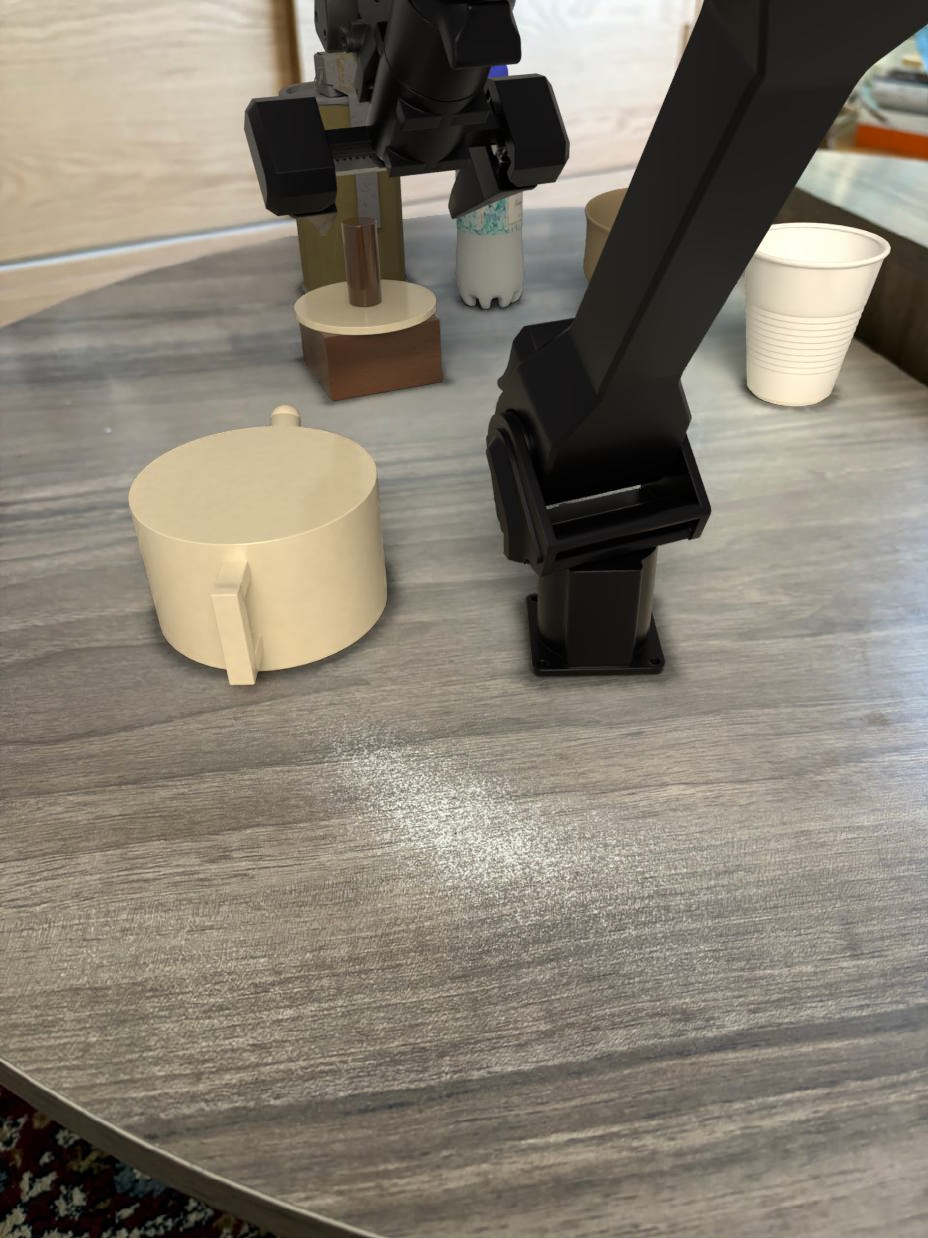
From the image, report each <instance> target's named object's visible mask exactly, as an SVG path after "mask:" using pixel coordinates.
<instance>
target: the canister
mask: <svg viewBox="0 0 928 1238" xmlns="http://www.w3.org/2000/svg"><path fill="white" fill-rule="evenodd" d="M313 65H314V74H315V76H314V78H313V81H306V82H305V81H304V82H299V83H293V84H291V85H287V86H283V87H282V88H280V89H279V91H278V96H285V95H296V94H308V93H310V94H312V95H313V96H315V97H316V101H317V104H318V108H319V111H320V115H321V118H322V122H323V125H324V129H325V130H329V129H339V128H349V127H360V126H366V118H367V113H368V109H369V108H368V104H367V102H365V103H359V102H358V99H357V95H356V92H355V88H354V85H353V84H354V78H355V73H356V68H357V63H356V61H355V59H354V57H353V55H352V53H345V52H340V53H326V52H325V50H324V51H316V53H315V52H314V54H313ZM336 180H337V190H338V191H337V196H336V201H335V204H336V207H337V215H336V218H335V220H334V223H333V226H332V229H331V231H330V232H329V233H328V234H327V235H326V236H320V234H319V232H318V230H317V228H316V226H315V225H314V224H313V223H311V222H310V221H308V220H307V219H305V218H302V219H295V224H296V229H297V238H298V244H299V245H298V246H299V248H298V249H299V255H300V263H301V270H302V271H301V272H302V279H303V281H302V284H301V290H302V292H303V293H304V294H306V293H308V292H310V291H312V290H315V289H318V288H320V287H324V286H327V285H331V284H336V283H341V282H347V279H346V268H345V257H344V247H343V236H342V225H341V223H342V221H343V220H345V219H348V218H353V217H369V218H373V219H375V220H376V222H377V235H378V249H379V262H380V276H381V280H396V281H403V282H408V283H409V278H408V276H407V275H406V273H407V272H406V256H405V241H404V240H405V237H404V220H403V219H404V218H403V200H402V198H403V197H402V181H401V180H402V179H401V177H393V178H389V177H388V173H387V171H378V172H369V173H360V174H352V175H343V176H336Z"/></svg>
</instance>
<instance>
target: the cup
mask: <svg viewBox="0 0 928 1238" xmlns="http://www.w3.org/2000/svg"><path fill="white" fill-rule="evenodd" d="M891 249H892V248H891V246H890V242H889V241H887V240H886V239H885V238H883V237H881V236H880V235H878V234H876V233H874V232H870V231H867V230H864V229H861V228H856V227H852V226H846V225H842V224H841V225H840V224H834V223H833V224H832V223H821V222H784V223H773V224H772V226H771V227H770V229H769V230H768V232H767V234H766V235H765V237H764V239H763V240H762V242H761V244H760V245H759V247H758V249H757V250H756V252H755V254H754V255H753V257H752V259H751V260H750V262H749V264H748V265H747V267H746V269H745V270H744V296H745V299H744V300H745V302H744V303H745V305H744V306H745V307H744V308H745V341H746V342H745V346H746V351H745V352H746V386H747V388H748V389H749V390H750V391H751V393H752V394H753V395H754V396H755V397H756V398H758V399H761V401H764V402H767V403H770V404H774V405H778V406H784V407H805V406H806V407H807V406H812V405H816V404H817V403H820V402H821V401H824V400H825V399H826V398H828V397H829V396H831V394H832V392H833V390H834V387H835V384H836V381H837V379H838V377H839V374H840V371H841V368H842V365H843V363H844V360H845V358H846V356H847V353H848V351H849V347H850V345H851V343H852V339H853V338H854V335H855V332H856V330H857V326H858V325H859V321H860V319H861V318H862V313H863V312H864V310H865V306H866V305H867V303H868V300H869V298H870V295H871V293H872V290H873V288H874V285H875V282H876V281H877V278H878V275H879V272H880V270H881V267H882V265H883V262H884V260H885V258H887V257H888V256H889V255H890V253H891Z"/></svg>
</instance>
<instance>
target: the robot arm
mask: <svg viewBox="0 0 928 1238" xmlns="http://www.w3.org/2000/svg"><path fill="white" fill-rule="evenodd" d="M516 2H517V0H313V22H314V29H315V33H316V35H317V37H318V40H319V41H320V43H321V44H320V45H321V46H322V48H323V50H324V51H325V52H326V53H340V52H345V53H352V55H353V57H354V59H355V61H356V63H357V68H356V73H355V78H354V84H353V85H354V88H355V92H356V95H357V99H358V102H359V103H365V102H367V104H368V108H369V109H368V113H367V118H366V126H360V127H349V128H339V129H329V130H325V129H324V125H323V122H322V118H321V115H320V111H319V108H318V104H317V101H316V97H315V96H313V95H312V94H310V93H308V94H296V95H285V96H279V95H275V96H274V95H273V96H262V97H253V98H251V100H250V101H249V103H248V104H247V107H246V108H245V110H244V117H243V118H244V119H243V131H244V135H245V137H246V138H245V139H246V142H247V146H248V149H249V153H250V157H251V161H252V163H253V167H254V171H255V175H256V178H257V182H258V185H259V189H260V193H261V196H262V200H263V203H264V207H265V210H267V211H269V212H270V213H272V214H273V215H274V216H276V217H283V216H289V217H290V218H291V219H295V220H296V219H302V218H305V219H307V220H308V221H310V222H311V223H313V224H314V225H315V226H316V228H317V230H318V232H319V234H320V236H326V235H327V234H328V233H329V232H330V231H331V229H332V226H333V223H334V220H335V218H336V215H337V207H336V204H335V201H336V196H337V191H338V190H337V180H336V176H343V175H352V174H360V173H369V172H378V171H387V173H388V177H389V178H393V177H400V178H401V177H410V176H418V175H428V174H435V173H443V172H452V171H454V172H455V170H459V172H458V175H457V177H456V180H455V179H454V181H453V185H452V188H451V190H450V194H449V198H448V203H447V208H448V211H449V215H450V218H451V220H457V219H458V218H460V217H462V216H465V215H467V214H469V213H471V212H474V211H476V210H478V209H480V208H483V207H485V206H488V205H490V204H492V203H495V202H497V201H500V200H502V199H505V198H507V197H510V196H513V195H515V194H518V193H520V192H523V193H524V192H527V191H533V190H534V189H536V188H537V187H538V186H539V185H545V184H552V183H556V182H557V180H558V178H559V177H560V175H561V173H562V172H563V170H564V169H565V166H566V164H567V163H568V161H569V159H570V152H571V149H570V148H571V141H570V139H569V136H568V135H569V134H568V132H567V128H566V126H565V122H564V119H563V116H562V113H561V110H560V106H559V104H558V101H557V97H556V94H555V91H554V88H553V85H552V83H551V81H550V80H549V79H548V78H547V76H545V75H543V74H540V73H525V74H513V75H508V76H500V77H489V78H488V75H489V73H490V70H491V67H492V66H501V65H507V66H511V65H519V63H520V62H521V61H522V55H523V54H522V53H523V51H522V38H521V35H520V31H519V28H518V25H517V22H516V19H515V16H514V12H513V11H514V9H515V6H516ZM926 26H928V0H703V1H702V5H701V7H700V10H699V13H698V17H697V19H696V21H695V23H694V26H693V28H692V31H691V32H690V35H689V38H688V41H687V42H686V45H685V48H684V50H683V53H682V55H681V58H680V60H679V62H678V65H677V68H676V70H675V72H674V75H673V77H672V80H671V82H670V84H669V87H668V88H667V91H666V94H665V97H664V99H663V100H662V101H663V102H662V104H661V106H660V108H659V112H658V114H657V116H656V118H655V121H654V123H653V126H652V128H651V130H650V132H649V136H648V138H647V141H646V143H645V146H644V148H643V150H642V153H641V155H640V158H639V160H638V163H637V165H636V167H635V170H634V171H633V175H632V176H631V180H630V182H629V184H628V187H627V188H628V189H627V192H626V194H625V196H624V199H623V201H622V204H621V206H620V209H619V211H618V213H617V216H616V218H615V221H614V223H613V226H612V228H611V231H610V233H609V235H608V238H607V240H606V243H605V245H604V248H603V250H602V253H601V255H600V257H599V260H598V262H597V265H596V267H595V270H594V272H593V274H592V277H591V279H590V282H589V283H587V284H588V285H587V287H586V289H585V291H584V294H583V296H582V299H581V302H580V304H579V306H578V309H577V311H576V314H575V316H574V317H569V318H563V319H557V320H551V321H546V322H539V323H533V324H526V325H524V326H522V327H521V329H520V330H519V332H517V334H516V335H515V337H514V338H513V340H512V343H511V347H510V352H509V357H508V361H507V365H506V368H505V370H504V372H503V374H502V375H501V376H500V377H498V378H497V381H496V385H497V388H499V389H500V391H501V393H500V395H499V397H498V399H497V402H496V405H495V409H494V414H492V416H491V417H490V419H489V422H488V427H487V435H486V437H485V444H486V449H485V455H486V460H487V463H488V468H489V472H490V479H491V485H492V494H493V500H494V507H495V514H496V518H497V521H498V523H499V528H500V531H501V533H502V535H503V538H502V539H503V543H502V544H503V547H502V548H503V551H502V552H503V556H505V558H506V559H507V560H508V561H510V562H515V563H520V564H523V565H529V567H530V568H531V569H532V570H533V572H534V573H535V574H536V575H537V593H531V594H528V595H527V596H526V599H525V607H526V619H527V629H528V631H527V632H528V641H529V651H530V663H531V671H532V673H533V674H534V676H538V677H581V676H582V677H585V676H586V677H587V676H590V677H591V676H633V675H635V676H636V675H660V674H662V673H663V672H664V671H665V667H666V659H665V655H664V652H663V648H662V643H661V640H660V637H659V632H658V628H657V624H656V621H655V617H654V613H653V599H654V592H655V591H654V590H655V581H656V571H657V562H658V554H659V547H660V546H664V545H669V544H672V543H676V542H681V541H685V540H688V541H693V540H696V539H699V538H701V537H702V534H703V532H704V531H705V530H704V529H705V528H706V526H707V524H708V521H709V519H710V517H711V514H712V506H711V502H710V499H709V497H708V494H707V493H708V492H707V490H706V488H705V487H706V486H705V484H704V482H703V478H702V475H701V472H700V469H699V466H698V463H697V460H696V457H695V453H694V451H693V448H692V445H691V442H690V439H689V436H688V433H687V432H688V429H689V426H690V424H691V422H692V419H693V416H692V412H691V409H690V406H689V403H688V399H687V397H686V394H685V390H684V387H683V383H682V376H683V374H684V372H685V370H686V369H687V367H688V365H689V363H690V362H691V361H692V358H693V357H694V356H695V354H696V352H697V350H698V348H699V347H700V345H701V344H702V342H703V340H704V338H705V337H706V335H707V333H708V332H709V330H710V329H711V327H712V326H713V324H714V322H715V320H716V319H717V317H718V315H719V314H720V312H721V310H722V309H723V307H724V305H725V304H726V302H727V300H728V299H729V297H730V296H731V294H732V292H733V290H734V289H735V287H736V285H737V284H738V282H739V280H740V279H741V277H742V275H743V274H744V273H745V269H746V267H747V265H748V264H749V262H750V260H751V259H752V257H753V255H754V254H755V252H756V250H757V249H758V247H759V245H760V244H761V242H762V240H763V239H764V237H765V235H766V234H767V232H768V230H769V229H770V227H771V226H772V225H774V222H775V221H776V219H777V217H778V215H779V214H780V212H781V210H782V209H783V207H784V206H785V204H786V202H787V201H788V199H789V197H790V196H791V194H792V192H793V190H794V189H795V187H796V186H797V185H798V183H799V181H800V179H801V178H802V176H803V174H804V172H805V171H806V169H807V167H808V166H809V164H810V163H811V161H812V159H813V158H814V156H815V154H816V152H818V149H819V148H820V146H821V145H822V143H823V141H824V139H825V138H826V136H827V135H828V133H829V131H830V129H831V127H832V126H833V124H834V123H835V121H836V119H837V118H838V116H839V114H840V113H841V111H842V109H843V107H844V106H845V105H846V102H847V101H848V100H849V98H850V96H851V94H852V93H853V91H854V89H855V88H856V86H857V85H858V83H859V82H860V81H861V80H862V78H863V77H864V76H865V75H866V73H867V72H868V71H869V70H870V69H871V68H872V67H873V66H874V65H875V64H877V63H878V62H880V61H881V60H882V59H883V58H884V57H886V56H888V55H889V54H890V53H892V52H893V51H894V50H896V49H897V48H898V47H900V46H901V45H902V44H904V43H905V42H906V41H908V40H909V39H911V38H912V37H913V36H914V35H915V34H917V33H918V32H919V31H921V30H922V29H923V28H925V27H926ZM487 101H488V102H487ZM637 486H640V487H637ZM634 487H637V488H634ZM628 488H629V489H628ZM630 488H632V489H630ZM625 489H628V490H625ZM619 490H623V491H619ZM615 491H619V492H615ZM611 492H614V493H611ZM606 493H611V494H607V495H603V494H606ZM597 495H602V496H597ZM593 496H597V497H594V498H589V497H593ZM585 498H589V499H585ZM580 499H584V500H580ZM575 500H576V501H575ZM577 500H580V501H577ZM572 501H575V502H572ZM557 504H558V506H557ZM553 505H556V506H553ZM549 506H552V507H549ZM547 507H548V508H547Z"/></svg>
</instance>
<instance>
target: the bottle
mask: <svg viewBox="0 0 928 1238" xmlns="http://www.w3.org/2000/svg"><path fill="white" fill-rule="evenodd" d="M500 76H509V68H508V65H501V66H492V67H491V70H490V73H489V75H488V78H489V77H500ZM487 102H488V101H487ZM458 172H459V170H454V173H455V176H454V177H455V179H454V181H455V180H456V177H457V175H458ZM523 194H524V191H523V192H520V193H518V194H515V195H513V196H510V197H507V198H505V199H502V200H500V201H497V202H495V203H492V204H490V205H488V206H485V207H483V208H480V209H478V210H476V211H474V212H471V213H469V214H467V215H465V216H462V217H460V218H458V219H456V251H455V253H456V254H455V281H456V285H457V286H456V287H457V290H458V293H459V295H460V296H461V298H462V300H463V302H464V303H465V304H466V305H468V306H470V307H474V306H475V305H476V304H477V299H478V302H479V305H480V307H481V308H482V309H484V310H488V309H490V307H491V303H492V300H493V299H495V298H497V300H498V305H499V307H500V308H506V307H508V306H509V305H510V304H511V303H515V302H517V301H518V300H519V299H520V297H521V295H522V293H523V289H524V285H525V284H524V283H525V258H524V257H525V256H524V243H523V242H524V241H523V217H524V216H523V215H524V214H523V213H524V212H523V211H524V210H523V209H524V208H523V206H524V205H523V203H524V200H523V199H524V195H523Z"/></svg>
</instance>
